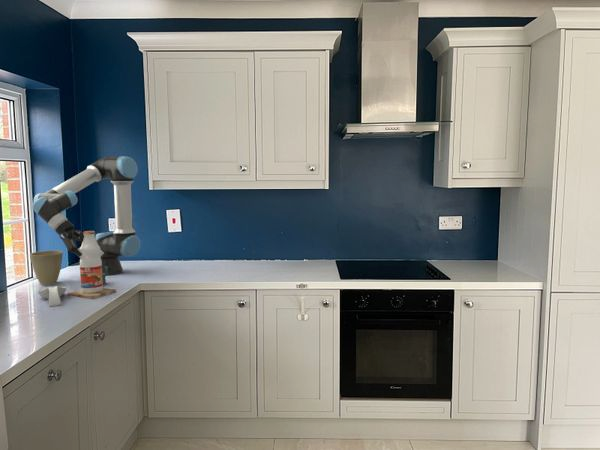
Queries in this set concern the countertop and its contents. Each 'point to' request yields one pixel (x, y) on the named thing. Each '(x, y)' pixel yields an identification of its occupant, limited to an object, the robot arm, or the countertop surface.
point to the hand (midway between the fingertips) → (94, 257)
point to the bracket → (105, 275)
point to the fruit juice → (91, 265)
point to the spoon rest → (52, 294)
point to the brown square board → (91, 295)
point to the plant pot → (47, 266)
